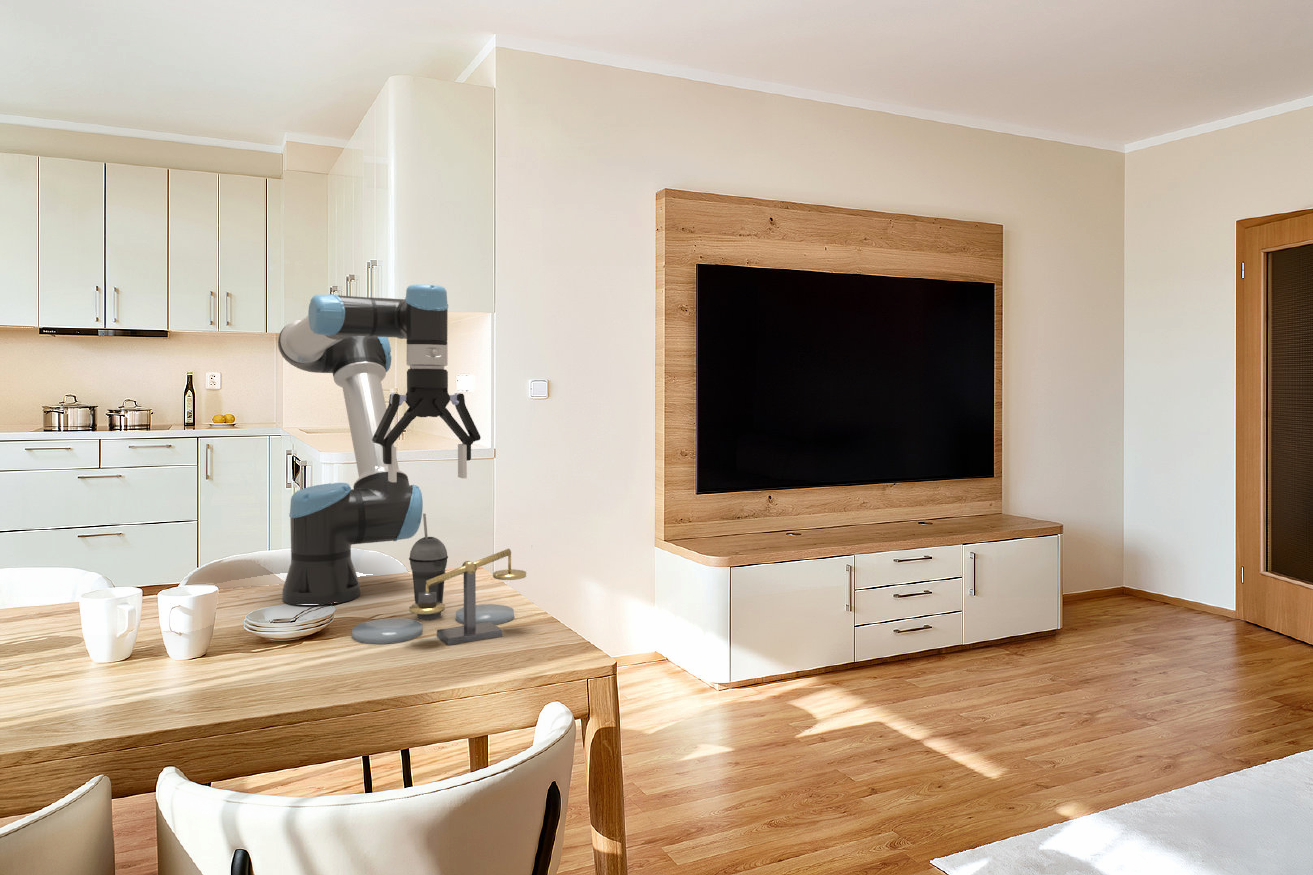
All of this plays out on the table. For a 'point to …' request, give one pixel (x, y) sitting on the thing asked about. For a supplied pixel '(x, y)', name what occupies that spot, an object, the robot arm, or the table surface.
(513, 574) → the balance
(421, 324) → the robot arm
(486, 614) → the dish light side
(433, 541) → the beverage cup
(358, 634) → the grey flat disc
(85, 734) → the table surface
